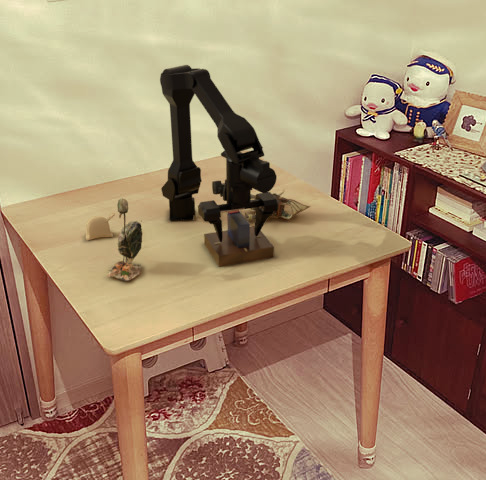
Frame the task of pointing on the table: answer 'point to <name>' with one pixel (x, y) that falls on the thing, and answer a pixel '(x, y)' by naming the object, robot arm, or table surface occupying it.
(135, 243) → the plant with pod
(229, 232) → the blue block
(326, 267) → the table surface
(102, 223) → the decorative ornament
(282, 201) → the figurine
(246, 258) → the brown slab
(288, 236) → the table surface
